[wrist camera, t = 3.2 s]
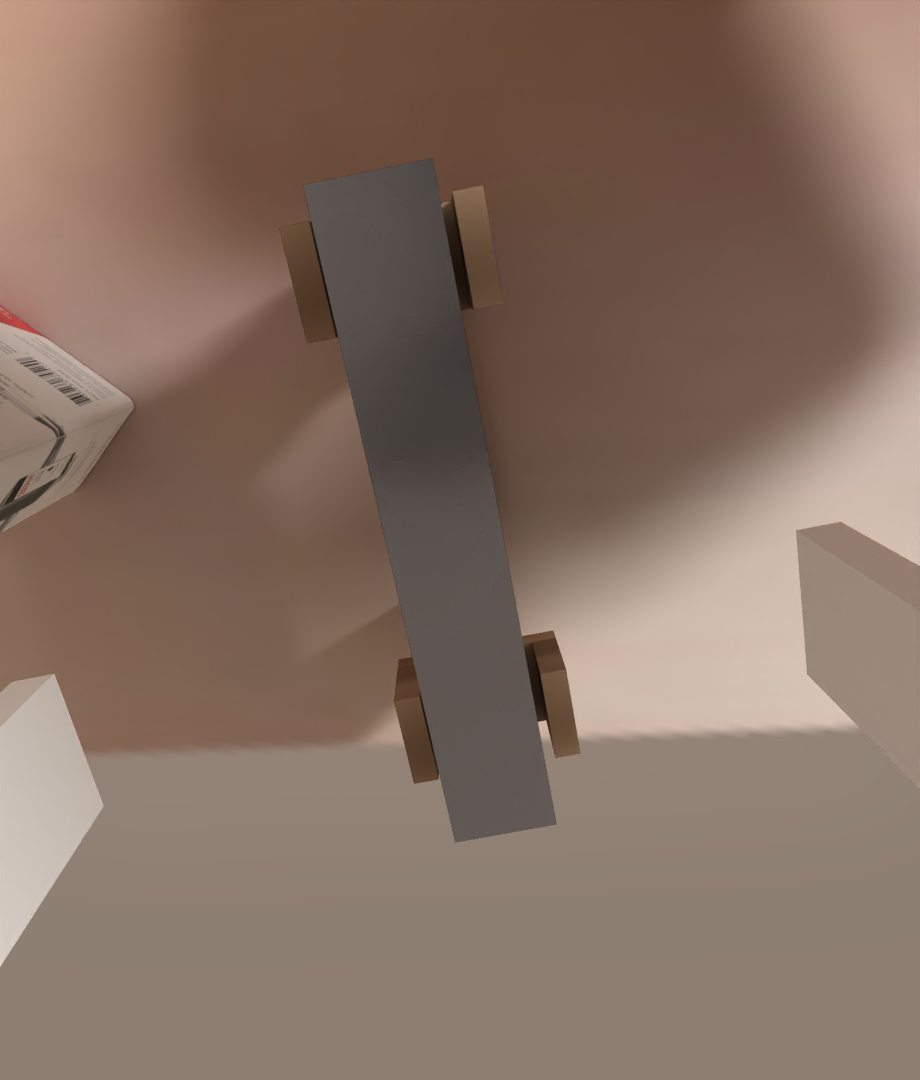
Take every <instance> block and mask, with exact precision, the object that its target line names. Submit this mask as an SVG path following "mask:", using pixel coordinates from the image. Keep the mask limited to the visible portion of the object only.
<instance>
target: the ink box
mask: <svg viewBox="0 0 920 1080" xmlns="http://www.w3.org/2000/svg"><path fill="white" fill-rule="evenodd" d="M133 409H134V405H133V402H132V400H131V399H130V398H129V397H128V396H126V395H125V394H124V393H122V392H121V391H120V390H118V389H117V388H115V387H114V386H112V385H111V384H110V383H108V382H107V381H105V380H104V379H103V378H101V377H100V376H98V375H97V374H96V373H94V372H93V371H92V370H90V369H89V368H87V367H86V366H84V365H83V364H82V363H80V362H79V361H78V360H76V359H75V358H73V357H72V356H71V355H69V354H68V353H66V352H65V351H64V350H62V349H61V348H59V347H58V346H56V345H55V344H53V343H52V342H51V341H49V340H48V339H46V338H45V337H44V336H42V335H41V334H39V333H38V332H37V331H35V330H34V329H32V328H31V327H30V326H28V325H27V324H25V323H24V322H23V321H21V320H20V319H18V318H17V317H16V316H14V315H13V314H11V313H10V312H9V311H7V310H6V309H4V308H3V307H2V306H0V533H2V532H4V531H5V530H7V529H9V528H11V527H12V526H14V525H16V524H18V523H19V522H21V521H23V520H25V519H27V518H28V517H30V516H32V515H34V514H35V513H37V512H39V511H40V510H42V509H44V508H46V507H48V506H49V505H51V504H53V503H55V502H56V501H58V500H60V499H62V498H63V497H65V496H67V495H69V494H70V493H72V492H74V491H75V490H76V489H77V488H78V487H79V486H80V485H81V483H82V482H83V481H84V479H85V478H86V476H87V475H88V474H89V472H90V471H91V469H92V468H93V467H94V465H95V464H96V462H97V461H98V459H99V458H100V456H101V455H102V453H103V452H104V450H105V449H106V447H107V446H108V444H109V443H110V442H111V440H112V439H113V437H114V436H115V434H116V433H117V431H118V430H119V428H120V427H121V425H122V424H123V423H124V421H125V420H126V419H127V417H128V416H129V414H130V413H131V412H132V411H133Z"/></svg>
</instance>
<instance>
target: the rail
mask: <svg viewBox="0 0 920 1080" xmlns="http://www.w3.org/2000/svg"><path fill="white" fill-rule="evenodd" d="M303 187H304V191H305V195H306V200H307V204H308V208H309V213H310V217H311V221H312V226H313V230H314V234H315V239H316V243H317V247H318V252H319V256H320V260H321V265H322V269H323V273H324V278H325V282H326V286H327V291H328V295H329V299H330V304H331V308H332V312H333V316H334V321H335V325H336V329H337V334H338V338H339V342H340V347H341V351H342V355H343V360H344V364H345V368H346V373H347V377H348V381H349V386H350V390H351V394H352V399H353V403H354V407H355V412H356V416H357V420H358V424H359V429H360V433H361V437H362V442H363V446H364V450H365V455H366V459H367V463H368V468H369V472H370V476H371V481H372V485H373V489H374V494H375V498H376V502H377V507H378V511H379V515H380V520H381V524H382V528H383V533H384V537H385V541H386V545H387V550H388V554H389V558H390V563H391V567H392V571H393V576H394V580H395V584H396V589H397V593H398V597H399V602H400V606H401V610H402V615H403V619H404V623H405V628H406V632H407V636H408V641H409V645H410V649H411V653H412V658H413V662H414V666H415V671H416V675H417V679H418V684H419V688H420V692H421V697H422V701H423V705H424V710H425V714H426V718H427V723H428V727H429V731H430V736H431V740H432V744H433V749H434V753H435V757H436V762H437V766H438V770H439V774H440V778H441V783H442V787H443V792H444V796H445V800H446V805H447V809H448V813H449V818H450V822H451V826H452V831H453V835H454V839H455V842H461V841H466V840H471V839H478V838H483V837H489V836H494V835H500V834H505V833H511V832H516V831H522V830H528V829H533V828H539V827H545V826H549V825H555V824H556V818H555V812H554V807H553V802H552V797H551V791H550V786H549V780H548V776H547V769H546V764H545V759H544V754H543V748H542V743H541V737H540V732H539V727H538V721H537V716H536V710H535V705H534V700H533V694H532V689H531V684H530V678H529V673H528V668H527V662H526V657H525V651H524V646H523V641H522V635H521V630H520V625H519V619H518V614H517V609H516V603H515V598H514V593H513V587H512V582H511V576H510V571H509V566H508V560H507V555H506V550H505V544H504V539H503V534H502V528H501V523H500V517H499V512H498V507H497V501H496V496H495V491H494V485H493V480H492V475H491V469H490V464H489V458H488V453H487V448H486V442H485V437H484V432H483V426H482V421H481V416H480V410H479V405H478V399H477V394H476V389H475V383H474V378H473V373H472V367H471V362H470V357H469V351H468V346H467V341H466V335H465V330H464V324H463V319H462V314H461V308H460V303H459V298H458V292H457V287H456V282H455V276H454V271H453V265H452V260H451V255H450V249H449V244H448V239H447V233H446V228H445V223H444V217H443V212H442V206H441V201H440V196H439V190H438V185H437V180H436V174H435V169H434V164H433V158H431V159H426V160H421V161H417V162H412V163H407V164H402V165H398V166H393V167H388V168H383V169H378V170H374V171H369V172H364V173H359V174H354V175H350V176H345V177H340V178H335V179H330V180H326V181H321V182H316V183H311V184H307V185H303Z"/></svg>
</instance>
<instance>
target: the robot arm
mask: <svg viewBox="0 0 920 1080" xmlns="http://www.w3.org/2000/svg"><path fill="white" fill-rule="evenodd" d="M796 534H797V547H798V560H799V573H800V586H801V599H802V612H803V625H804V638H805V651H806V664H807V674H808V675H809V676H810V677H811V678H812V679H813V681H814V682H815V683H816V684H817V685H818V686H819V687H820V688H821V689H822V690H823V691H824V692H825V693H826V694H827V695H828V696H829V697H830V698H831V699H832V700H833V701H834V702H835V703H836V704H837V705H838V706H839V707H840V708H841V709H842V710H843V711H844V712H845V713H846V714H847V715H848V716H849V717H850V718H851V719H852V720H853V721H854V722H855V723H856V724H857V725H858V726H859V727H860V728H861V729H862V730H863V731H864V733H865V734H867V736H868V737H869V738H870V739H871V740H872V741H873V742H874V743H875V744H876V745H877V746H878V747H879V748H880V749H881V750H882V751H883V752H884V753H885V754H886V755H887V756H888V757H889V758H890V759H891V760H892V761H893V762H894V763H895V764H896V765H897V766H898V767H899V768H900V769H901V770H902V771H903V772H904V773H905V774H906V775H907V776H908V777H909V778H910V779H911V780H912V781H913V782H914V784H916V786H917V787H918V788H919V789H920V566H918V565H916V564H915V563H913V562H911V561H909V560H908V559H906V558H904V557H902V556H900V555H899V554H897V553H895V552H893V551H892V550H890V549H888V548H886V547H884V546H883V545H881V544H879V543H877V542H875V541H874V540H872V539H870V538H868V537H867V536H865V535H863V534H861V533H859V532H858V531H856V530H854V529H852V528H851V527H849V526H847V525H845V524H843V523H842V522H838V523H833V524H828V525H822V526H817V527H812V528H807V529H802V530H797V531H796ZM103 807H104V805H103V803H102V800H101V798H100V795H99V792H98V789H97V786H96V784H95V781H94V779H93V776H92V773H91V771H90V768H89V765H88V762H87V760H86V757H85V754H84V752H83V749H82V746H81V744H80V741H79V738H78V736H77V733H76V730H75V728H74V725H73V722H72V720H71V717H70V714H69V712H68V709H67V706H66V704H65V701H64V698H63V696H62V693H61V690H60V688H59V685H58V682H57V679H56V677H55V674H49V675H44V676H39V677H34V678H28V679H23V680H18V681H13V682H11V683H10V684H9V685H8V686H7V687H6V688H5V689H4V690H2V691H1V692H0V966H1V964H2V963H3V961H4V960H5V958H6V957H7V955H8V953H9V952H10V950H11V949H12V947H13V946H14V944H15V943H16V941H17V940H18V938H19V937H20V935H21V933H22V932H23V930H24V929H25V927H26V926H27V924H28V923H29V921H30V919H31V918H32V916H33V915H34V913H35V912H36V910H37V909H38V907H39V906H40V904H41V903H42V901H43V900H44V898H45V896H46V895H47V893H48V892H49V890H50V889H51V887H52V886H53V884H54V883H55V881H56V879H57V878H58V876H59V875H60V873H61V871H62V870H63V869H64V867H65V866H66V864H67V862H68V861H69V859H70V858H71V856H72V855H73V853H74V851H75V850H76V848H77V847H78V845H79V844H80V842H81V841H82V839H83V838H84V836H85V835H86V833H87V831H88V830H89V828H90V827H91V825H92V824H93V822H94V821H95V819H96V817H97V816H98V815H99V813H100V811H101V810H102V808H103Z"/></svg>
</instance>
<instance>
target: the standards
mask: <svg viewBox="0 0 920 1080" xmlns="http://www.w3.org/2000/svg"><path fill="white" fill-rule="evenodd" d="M441 206H442V212H443V217H444V223H445V228H446V233H447V239H448V244H449V249H450V255H451V260H452V265H453V271H454V276H455V282H456V287H457V292H458V298H459V303H460V308H461V310H464V309H469V308H472V309H473V310H476V309H481V308H486V307H491V306H496V305H501V304H503V299H502V293H501V287H500V281H499V276H498V270H497V264H496V258H495V252H494V246H493V240H492V235H491V229H490V223H489V217H488V211H487V205H486V200H485V194H484V188H483V185H481V186H476V187H471V188H466V189H462V190H457V191H453V192H452V200H451V201H449V202H444V203H441ZM279 230H280V234H281V238H282V242H283V246H284V250H285V254H286V258H287V262H288V267H289V271H290V275H291V279H292V283H293V287H294V291H295V295H296V300H297V304H298V308H299V312H300V316H301V320H302V324H303V328H304V332H305V337H306V341H307V344H308V343H313V342H318V341H323V340H327V339H332V338H337V337H338V334H337V329H336V325H335V321H334V316H333V312H332V308H331V304H330V299H329V295H328V291H327V286H326V282H325V278H324V273H323V269H322V265H321V260H320V256H319V252H318V247H317V243H316V239H315V234H314V230H313V226H312V222H310V221H307V222H302V223H298V224H293V225H288V226H283V227H279ZM522 641H523V646H524V651H525V657H526V662H527V668H528V673H529V678H530V684H531V689H532V694H533V700H534V705H535V710H536V716H537V721H538V722H539V721H544V720H546V721H547V725H548V729H549V733H550V737H551V741H552V745H553V749H554V754H555V757H556V758H558V757H563V756H569V755H574V754H580V748H579V743H578V737H577V731H576V725H575V719H574V713H573V707H572V702H571V696H570V690H569V684H568V678H567V672H566V668H565V665H564V662H563V659H562V656H561V653H560V650H559V647H558V644H557V641H556V638H555V635H554V632H553V631H548V632H543V633H538V634H532V635H527V636H522ZM394 703H395V707H396V711H397V715H398V719H399V724H400V728H401V732H402V736H403V740H404V744H405V748H406V752H407V756H408V760H409V765H410V768H411V772H412V777H413V781H414V783H420V782H426V781H432V780H437V779H439V770H438V766H437V762H436V757H435V753H434V749H433V744H432V740H431V736H430V731H429V727H428V723H427V718H426V714H425V710H424V705H423V701H422V697H421V692H420V688H419V684H418V679H417V675H416V671H415V666H414V662H413V658H412V657H410V658H404V659H399V663H398V672H397V680H396V689H395V698H394Z"/></svg>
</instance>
